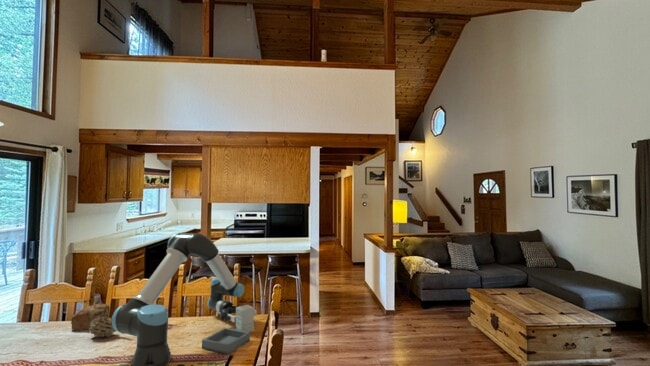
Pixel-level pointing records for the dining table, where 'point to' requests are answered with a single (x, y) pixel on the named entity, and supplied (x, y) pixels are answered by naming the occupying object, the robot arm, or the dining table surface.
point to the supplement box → (245, 318)
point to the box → (226, 340)
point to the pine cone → (101, 327)
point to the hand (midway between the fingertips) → (245, 316)
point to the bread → (89, 316)
